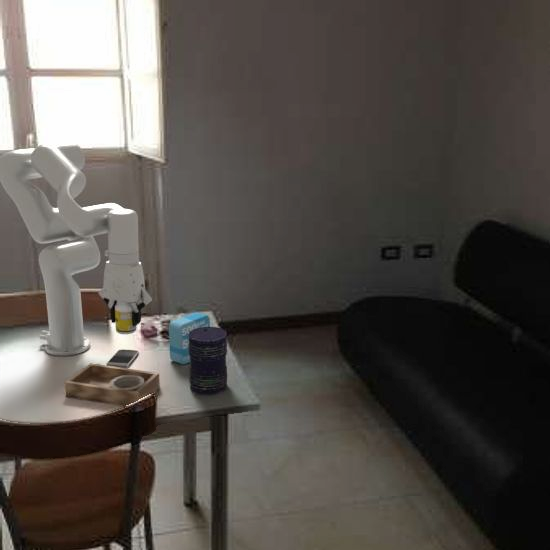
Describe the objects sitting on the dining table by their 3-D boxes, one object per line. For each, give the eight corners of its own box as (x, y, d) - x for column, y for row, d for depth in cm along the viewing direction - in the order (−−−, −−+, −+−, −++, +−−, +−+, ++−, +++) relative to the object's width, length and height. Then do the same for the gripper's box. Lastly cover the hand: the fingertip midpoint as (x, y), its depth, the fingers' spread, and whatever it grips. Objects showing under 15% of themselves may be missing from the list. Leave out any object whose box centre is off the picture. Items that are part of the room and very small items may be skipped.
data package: (180, 366, 184) (179, 326, 180) (169, 361, 186) (168, 322, 183) (210, 352, 193) (210, 314, 189) (199, 348, 195) (198, 310, 192)
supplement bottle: (116, 327, 178) (115, 292, 175) (137, 327, 179) (136, 293, 176) (114, 335, 173) (113, 300, 170) (135, 335, 174) (134, 300, 170)
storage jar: (231, 393, 168) (230, 339, 164) (193, 398, 166) (191, 343, 161) (223, 376, 178) (222, 324, 173) (186, 380, 175) (185, 328, 171)
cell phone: (140, 354, 192) (139, 350, 192) (127, 370, 182) (126, 366, 181) (119, 353, 193) (119, 348, 192) (105, 369, 182) (105, 364, 182)
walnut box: (65, 396, 166) (64, 382, 164) (91, 376, 177) (90, 363, 175) (137, 408, 160) (137, 393, 159) (159, 387, 171) (159, 373, 170)
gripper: (86, 257, 168) (89, 323, 174) (147, 265, 164) (148, 332, 169) (101, 249, 175) (104, 313, 181) (160, 257, 171) (161, 322, 176)
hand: (125, 322), depth 175 cm, fingers closed on supplement bottle, 5 cm apart
